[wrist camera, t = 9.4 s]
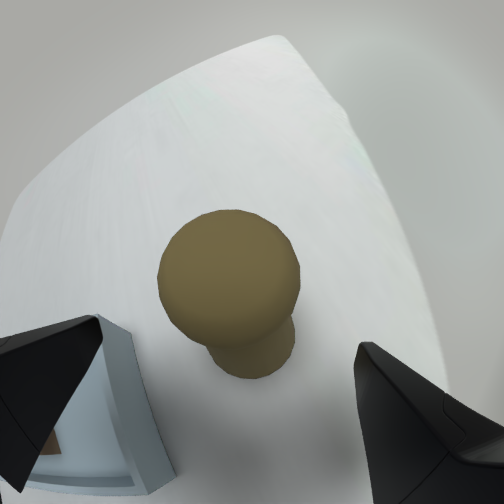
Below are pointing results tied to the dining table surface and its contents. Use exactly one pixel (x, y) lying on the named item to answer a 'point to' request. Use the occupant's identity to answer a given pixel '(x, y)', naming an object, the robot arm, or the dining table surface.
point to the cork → (233, 290)
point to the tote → (106, 430)
